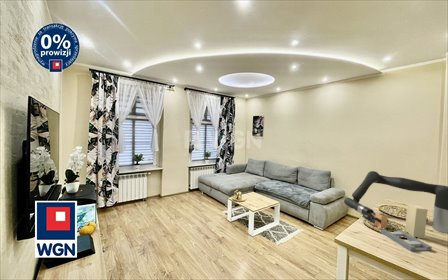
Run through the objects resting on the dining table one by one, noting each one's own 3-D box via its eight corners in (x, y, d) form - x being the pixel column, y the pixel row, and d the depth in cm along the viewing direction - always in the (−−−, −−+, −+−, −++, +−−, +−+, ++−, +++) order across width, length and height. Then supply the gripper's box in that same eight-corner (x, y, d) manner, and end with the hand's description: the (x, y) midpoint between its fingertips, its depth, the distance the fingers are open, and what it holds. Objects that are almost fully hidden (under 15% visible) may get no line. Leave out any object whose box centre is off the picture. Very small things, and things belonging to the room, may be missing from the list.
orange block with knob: (374, 225, 142) (375, 211, 141) (380, 225, 142) (381, 211, 142) (380, 229, 137) (381, 214, 136) (386, 229, 137) (387, 214, 137)
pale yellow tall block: (426, 238, 126) (429, 209, 124) (413, 237, 127) (416, 208, 126) (416, 232, 133) (419, 204, 132) (404, 231, 135) (407, 203, 134)
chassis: (380, 232, 132) (380, 229, 132) (398, 232, 133) (398, 228, 133) (410, 251, 112) (410, 247, 112) (431, 250, 113) (431, 246, 113)
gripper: (357, 206, 153) (375, 216, 136) (373, 206, 154) (393, 216, 137) (357, 215, 153) (375, 226, 136) (373, 215, 154) (393, 226, 137)
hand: (384, 221), depth 137 cm, fingers closed on orange block with knob, 5 cm apart
